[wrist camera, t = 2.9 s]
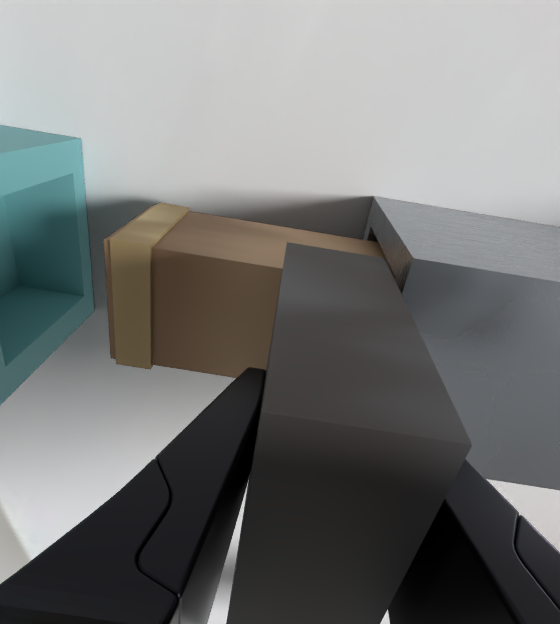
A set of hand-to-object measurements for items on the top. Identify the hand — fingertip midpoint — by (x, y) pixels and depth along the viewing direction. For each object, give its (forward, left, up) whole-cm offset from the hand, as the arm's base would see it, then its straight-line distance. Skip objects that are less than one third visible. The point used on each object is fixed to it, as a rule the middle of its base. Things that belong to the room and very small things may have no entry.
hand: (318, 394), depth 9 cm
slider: (-1, -1, -6) cm, 6 cm away
